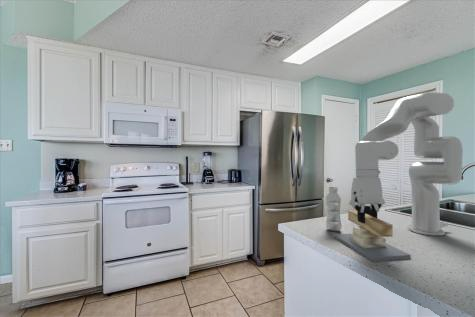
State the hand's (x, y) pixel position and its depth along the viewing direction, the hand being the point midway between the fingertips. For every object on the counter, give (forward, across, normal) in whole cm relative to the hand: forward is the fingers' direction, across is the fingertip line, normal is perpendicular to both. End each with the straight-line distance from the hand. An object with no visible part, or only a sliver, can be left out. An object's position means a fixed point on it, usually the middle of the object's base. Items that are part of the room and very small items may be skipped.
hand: (367, 221), depth 83 cm
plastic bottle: (+10, +2, -19) cm, 21 cm away
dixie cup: (+10, -18, -23) cm, 31 cm away
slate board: (+10, 0, 0) cm, 10 cm away
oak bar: (+2, 0, 0) cm, 2 cm away
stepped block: (+8, 0, 0) cm, 8 cm away
